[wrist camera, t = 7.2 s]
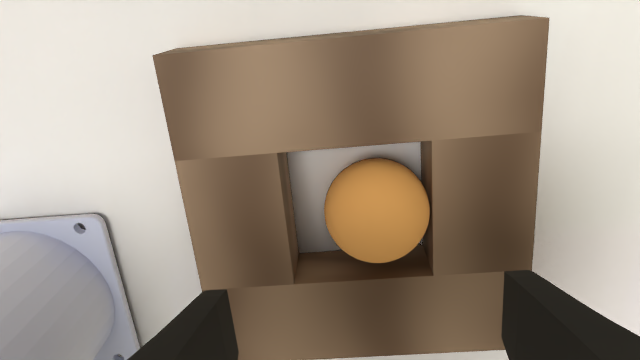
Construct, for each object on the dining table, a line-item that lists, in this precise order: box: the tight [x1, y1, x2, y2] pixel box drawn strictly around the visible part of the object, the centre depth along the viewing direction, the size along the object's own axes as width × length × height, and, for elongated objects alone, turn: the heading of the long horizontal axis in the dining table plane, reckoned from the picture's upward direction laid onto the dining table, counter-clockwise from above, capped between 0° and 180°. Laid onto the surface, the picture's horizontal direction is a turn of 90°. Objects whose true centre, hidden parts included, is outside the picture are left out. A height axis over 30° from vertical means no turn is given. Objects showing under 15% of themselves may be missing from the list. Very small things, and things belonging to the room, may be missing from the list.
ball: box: [324, 158, 430, 263], centre depth 18 cm, size 4×4×4 cm
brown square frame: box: [153, 16, 549, 360], centre depth 19 cm, size 13×13×2 cm
